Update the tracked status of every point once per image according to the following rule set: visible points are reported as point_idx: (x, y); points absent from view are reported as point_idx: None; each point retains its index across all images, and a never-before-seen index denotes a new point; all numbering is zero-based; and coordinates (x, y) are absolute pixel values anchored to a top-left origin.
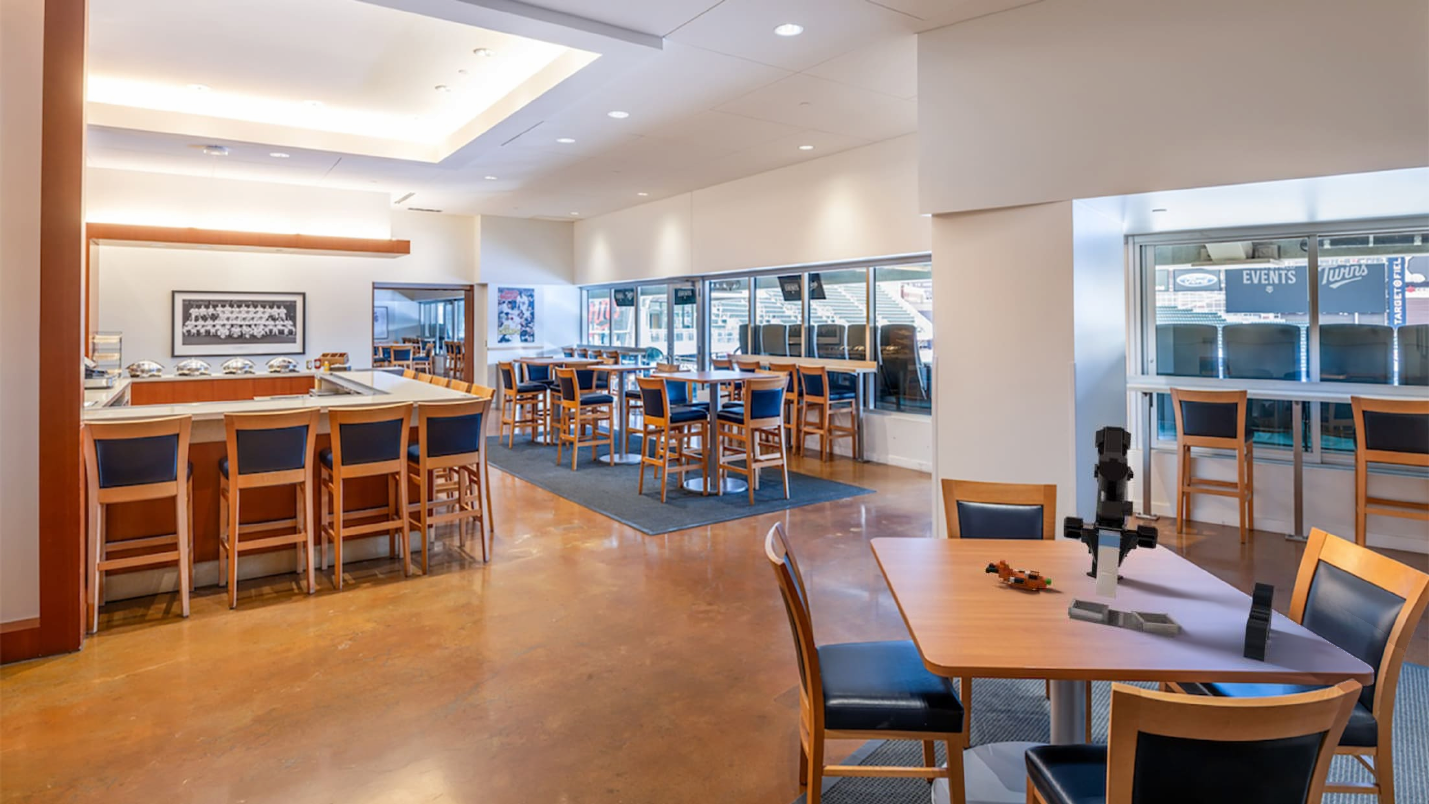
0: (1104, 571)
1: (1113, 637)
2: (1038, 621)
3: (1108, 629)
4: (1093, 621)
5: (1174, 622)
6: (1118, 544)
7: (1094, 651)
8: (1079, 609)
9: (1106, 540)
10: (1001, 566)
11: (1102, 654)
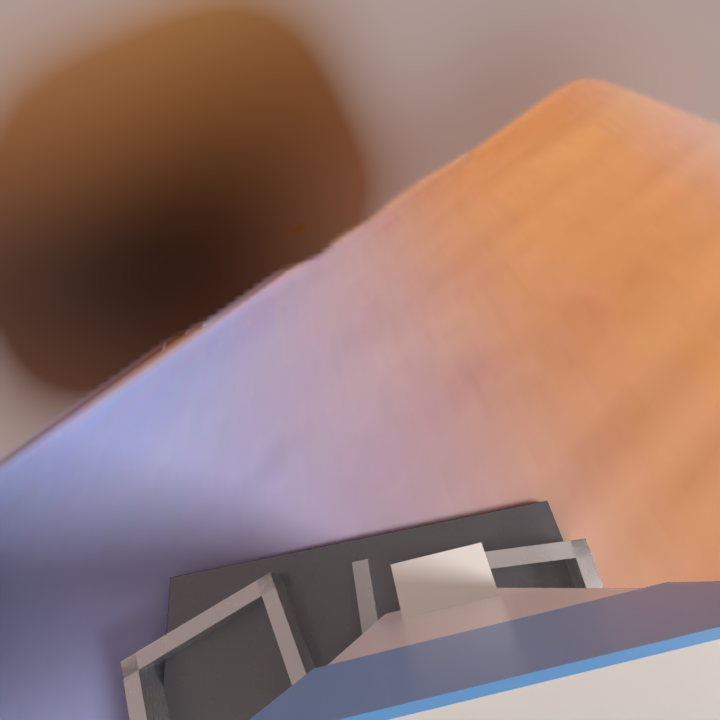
0: (474, 602)
1: (362, 441)
2: (613, 406)
3: (395, 512)
4: (460, 534)
5: (141, 709)
6: (320, 672)
7: (379, 301)
8: (539, 554)
9: (580, 626)
10: None
11: (358, 298)
